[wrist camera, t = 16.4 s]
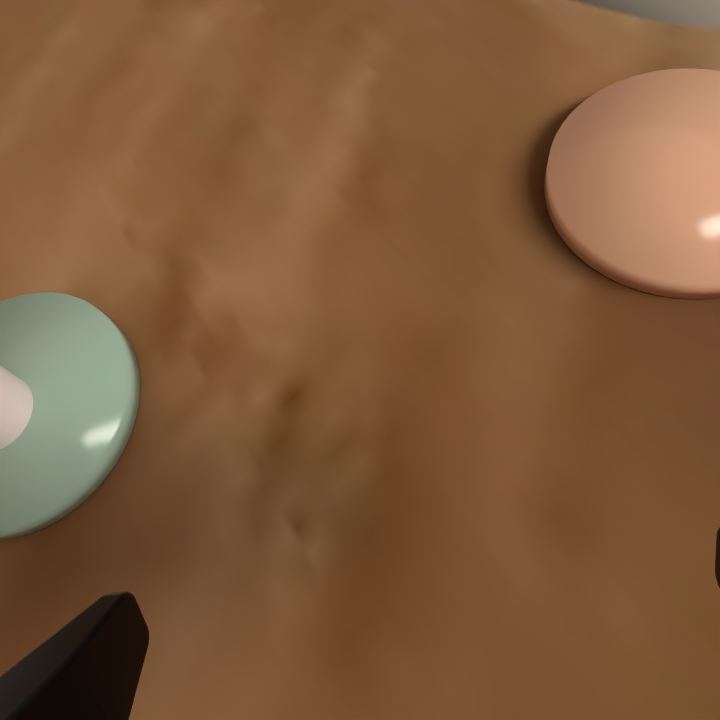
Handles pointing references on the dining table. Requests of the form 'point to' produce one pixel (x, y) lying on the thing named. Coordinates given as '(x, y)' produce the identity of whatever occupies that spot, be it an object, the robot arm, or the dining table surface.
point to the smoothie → (13, 406)
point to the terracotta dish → (643, 182)
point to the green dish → (63, 406)
